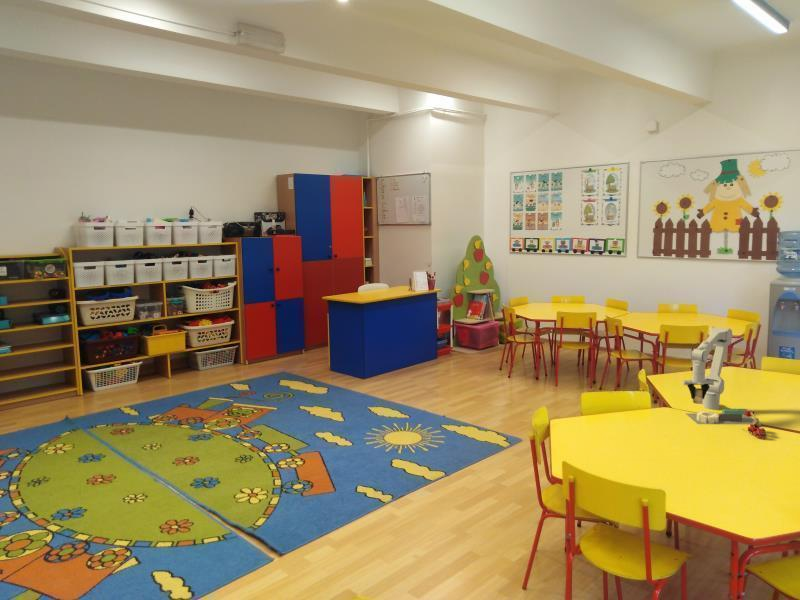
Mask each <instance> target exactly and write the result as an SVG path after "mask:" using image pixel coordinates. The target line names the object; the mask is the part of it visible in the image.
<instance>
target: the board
mask: <svg viewBox="0 0 800 600" xmlns="http://www.w3.org/2000/svg"><path fill="white" fill-rule="evenodd" d="M685 415H686V416H687V417H688V418H690V419H691V420H692V421H693V422H694V423H696V424H697V425H751V424H752V423H753V421H754V418H753V417H752V416H751V417H747V416H746V415H744V414H723V413H722V412H721V413H720V412H718V413H715V412H714V411H707V410H706V411H705V410H704V411H703V410H701V411H698V412H697V413H689V412H687V413H685ZM757 425H758V427H759V428H760V427H762V428H763V425H762V423H761V422H759V423H758V424H757ZM754 427H755V426H754Z"/></svg>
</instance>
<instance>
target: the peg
mask: <svg viewBox="0 0 800 600" xmlns="http://www.w3.org/2000/svg"><path fill="white" fill-rule="evenodd" d="M702 396H703V389H701V387H700V388H699V387H696V388H695V398H694V399H692V402H693V404H698V405H702Z"/></svg>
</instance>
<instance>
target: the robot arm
mask: <svg viewBox="0 0 800 600" xmlns="http://www.w3.org/2000/svg"><path fill="white" fill-rule="evenodd" d="M732 339H733V330H732V329H731V328H725V327H718V326H716V327H715V326H711V327H710V328H709V331H708V337H707V338H706V340H703V341H702V342H701V343H700V344H699V346H697V348H694V349H692V351H691V354H690V358H691V364H692V375H691V376H692V378H691V379H687V380H682V385H683V386H687V388H688V390H689V392H690V396H691V397H690V398H691V399H692V400H693V399H694V398H695V388H697V387H696V386H695V385H698V386H699V385H700V389H703V396H702V404H701V405H702V406H703V407H704V409H706V410H716V411H717V410H719V409H720V397H721V395H722V394H723V393H724V391H725V380H724V379H723V378H722V377H721V373H722V367H723V365H724V361H725V356H726V351H727V347H728V346H730V345H731V343H732ZM714 345H715V350H714V353H713V358H712V361H711V367H710V372H709V373H708V374H706V362H707V360H708V358H709V356H710V355H709V354H710V353H711V351H713V348H714Z"/></svg>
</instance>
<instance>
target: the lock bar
mask: <svg viewBox="0 0 800 600" xmlns="http://www.w3.org/2000/svg"><path fill="white" fill-rule="evenodd" d="M744 411H751V410H749V408H722V409H721V413H723V414H744Z"/></svg>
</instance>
